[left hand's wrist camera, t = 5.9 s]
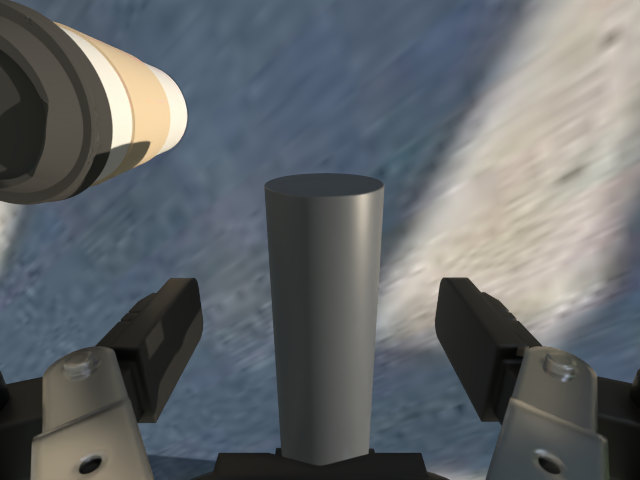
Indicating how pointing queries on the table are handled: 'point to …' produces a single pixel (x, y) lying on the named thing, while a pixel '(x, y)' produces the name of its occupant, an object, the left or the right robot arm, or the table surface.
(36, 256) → the table surface
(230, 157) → the table surface
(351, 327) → the cylinder
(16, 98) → the coffee cup
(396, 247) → the table surface
